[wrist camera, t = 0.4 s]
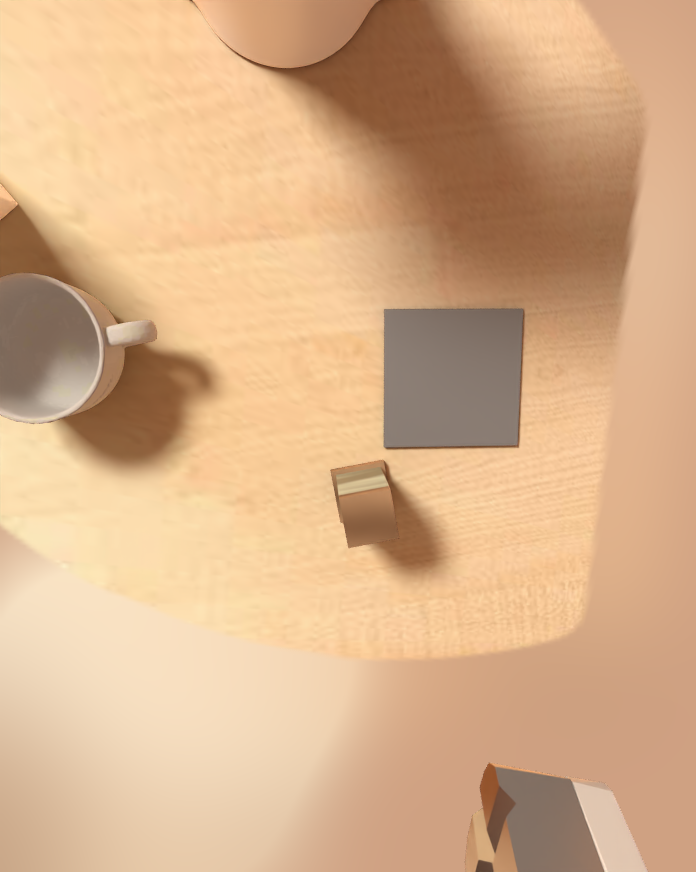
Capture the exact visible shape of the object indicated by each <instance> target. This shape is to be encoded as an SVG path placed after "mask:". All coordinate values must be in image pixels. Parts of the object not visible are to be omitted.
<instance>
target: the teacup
mask: <svg viewBox="0 0 696 872" xmlns="http://www.w3.org/2000/svg"><path fill="white" fill-rule="evenodd" d="M156 339H157V330H156V327H155V324H154V323H153V322H152V321H150V320H142V321H133V322H127V323H121V324H117V322H116V320H115V319H114V317H113V316H112V314H111V313H110V312H109V310H108V309H107V308H106V307H105V306H104V305H103V304H102V303H101V302H100V301H98V300H97V299H96V298H94V297H93V296H91V295H90V294H88V293H86V292H85V291H82V290H80V289H78V288H76V287H73V286H71V285H68V284H66V283H63V282H61V281H59V280H57V279H54V278H52V277H49V276H46V275H41V274H35V273H14V274H9V275H5V276H2V277H0V415H1V416H3V417H5V418H8V419H11V420H14V421H17V422H23V423H31V424H35V423H39V424H40V423H49V422H53V421H56V420H59V419H62V418H65V417H67V416H71V415H74V414H78V413H80V412H83V411H85V410H88V409H90V408H92V407H93V406H95V405H97V404H98V403H100V402H101V401H102V400H103V399H105V398H106V397H107V396H108V395H109V393H110V392H111V391H112V390H113V389H114V387H115V386H116V384H117V382H118V380H119V378H120V376H121V373H122V371H123V367H124V358H125V348H126V347H129V346H133V345H137V344H142V343H147V342H152V341H155V340H156Z"/></svg>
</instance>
